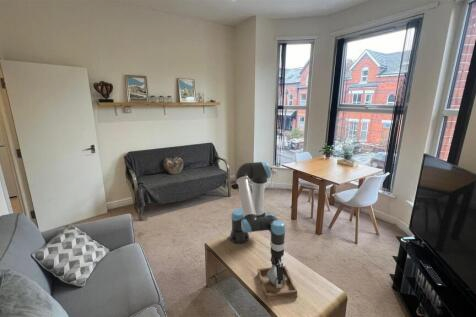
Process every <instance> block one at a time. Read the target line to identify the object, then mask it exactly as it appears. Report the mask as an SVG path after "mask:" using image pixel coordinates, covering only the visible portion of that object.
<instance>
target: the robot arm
mask: <svg viewBox="0 0 476 317" xmlns="http://www.w3.org/2000/svg"><path fill="white" fill-rule="evenodd" d="M271 173H272V172H271V167H270V164H269V163H268V162H267V161H260V162H259V161H257V162H245V163H243V164H241V165H240V166H239V167H238V169H237V171H236V173H235V181H236V182H235V183H236V184H237V185H238V190H239V191H238V193H239V197H240V204H241V208H236V209H235V210H233V211H232V212H231V217H230V218H231V230H230V231H231V232H230V233H229V240H230V241H231V242H232V243H233V244H240V245H241V244H245V243H247V242H248V241H249V240H250V234H249V233H254V232H255V233H256V232H262V231H263V232H264V231H269V232H270V243H269V245H270V255H271V257H270V262H271V267H276V270H277V278H276V288H281V282H282V281H283V266H284V263H283V262H282V257H283V256H284V255H285V244H286V243H285V238H286V237H285V235H286V234H285V233H286V225H285V222H283V221H281V220H279V219H278V218H277V216H275V214H273V213H268V214H267V211H266V210H265V208H264V200H265V198H264V197H265V188H266V187H265V186H266V183H267V182H268V180H269V179H270V178H271V177H272V176H271V175H272V174H271ZM250 182H252V188H251V184H250ZM251 189H252V190H251Z"/></svg>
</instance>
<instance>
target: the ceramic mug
mask: <svg viewBox="0 0 476 317" xmlns="http://www.w3.org/2000/svg"><path fill="white" fill-rule="evenodd" d="M271 267H272V266H271ZM271 267H270V268H271ZM267 277H268V278H269V279H270V281H271V282H272V283H273V285H275V286H276V278H277V270H276V267H272V268H271V269H269V271H268V272H267ZM285 281H286V277H285V276H284V275H283V281H282V282H281V285H282V284H283V282H285Z"/></svg>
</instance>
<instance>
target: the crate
mask: <svg viewBox="0 0 476 317" xmlns="http://www.w3.org/2000/svg"><path fill="white" fill-rule="evenodd" d="M271 268H272V266H271V267H263V268H262V267H261V268H257V277H258V280H259V284H260V288H261V290H262V294H263V297H264V301H265V302H267V301H268V302H270V301H277V300H286V299H292V298H293V299H294V298H298V289H297V287H296V285H295V283H294V280H293V278H292V277H291V275H290V272H289V270H288V268H287V266H286V265H283V275H284V276H285V277H286V281H285V282H283V284H282V285H281V288H276V286H275V285H273V283H272V282H271V281H270V279H269V278H268V277H267V272H268V271H269V269H271Z"/></svg>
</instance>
